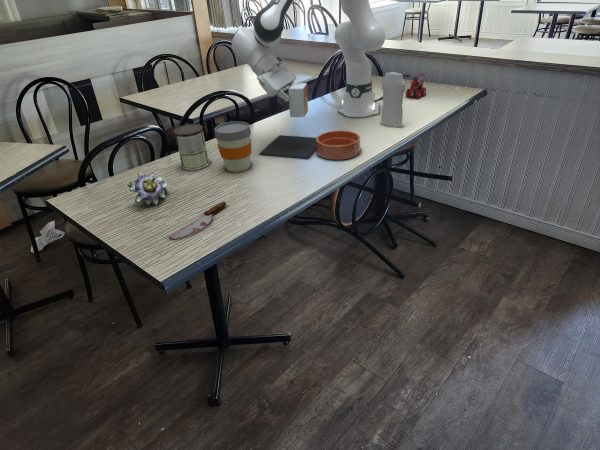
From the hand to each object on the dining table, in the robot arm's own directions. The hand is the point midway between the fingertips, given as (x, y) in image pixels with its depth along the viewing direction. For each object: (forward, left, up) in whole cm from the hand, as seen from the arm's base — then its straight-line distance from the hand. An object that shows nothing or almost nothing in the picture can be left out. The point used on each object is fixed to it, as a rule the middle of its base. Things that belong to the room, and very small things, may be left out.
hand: (293, 96), depth 155 cm
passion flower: (+52, -31, -20) cm, 64 cm away
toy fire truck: (-77, +35, -20) cm, 87 cm away
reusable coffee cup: (+22, -15, -20) cm, 33 cm away
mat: (0, -2, -20) cm, 20 cm away
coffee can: (+24, -32, -20) cm, 45 cm away
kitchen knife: (+60, -6, -20) cm, 63 cm away
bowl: (+1, +17, -20) cm, 26 cm away
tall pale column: (-32, +31, -20) cm, 49 cm away
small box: (0, +2, -7) cm, 7 cm away
